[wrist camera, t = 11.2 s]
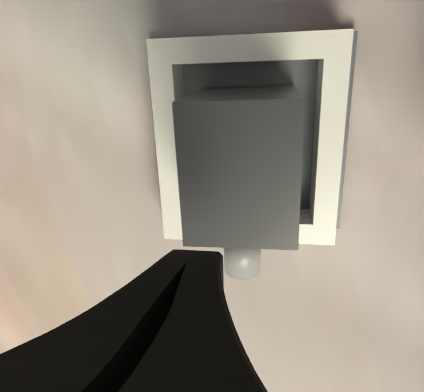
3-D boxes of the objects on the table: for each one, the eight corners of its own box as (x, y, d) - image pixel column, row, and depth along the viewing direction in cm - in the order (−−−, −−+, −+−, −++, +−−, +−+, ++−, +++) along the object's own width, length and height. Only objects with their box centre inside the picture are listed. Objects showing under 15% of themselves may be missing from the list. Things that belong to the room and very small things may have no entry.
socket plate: (355, 31, 16) (368, 28, 13) (337, 224, 19) (345, 245, 17) (151, 41, 17) (133, 39, 15) (166, 219, 20) (154, 238, 18)
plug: (293, 84, 16) (304, 98, 11) (288, 220, 19) (296, 289, 13) (204, 86, 17) (172, 102, 11) (211, 218, 19) (186, 284, 14)
